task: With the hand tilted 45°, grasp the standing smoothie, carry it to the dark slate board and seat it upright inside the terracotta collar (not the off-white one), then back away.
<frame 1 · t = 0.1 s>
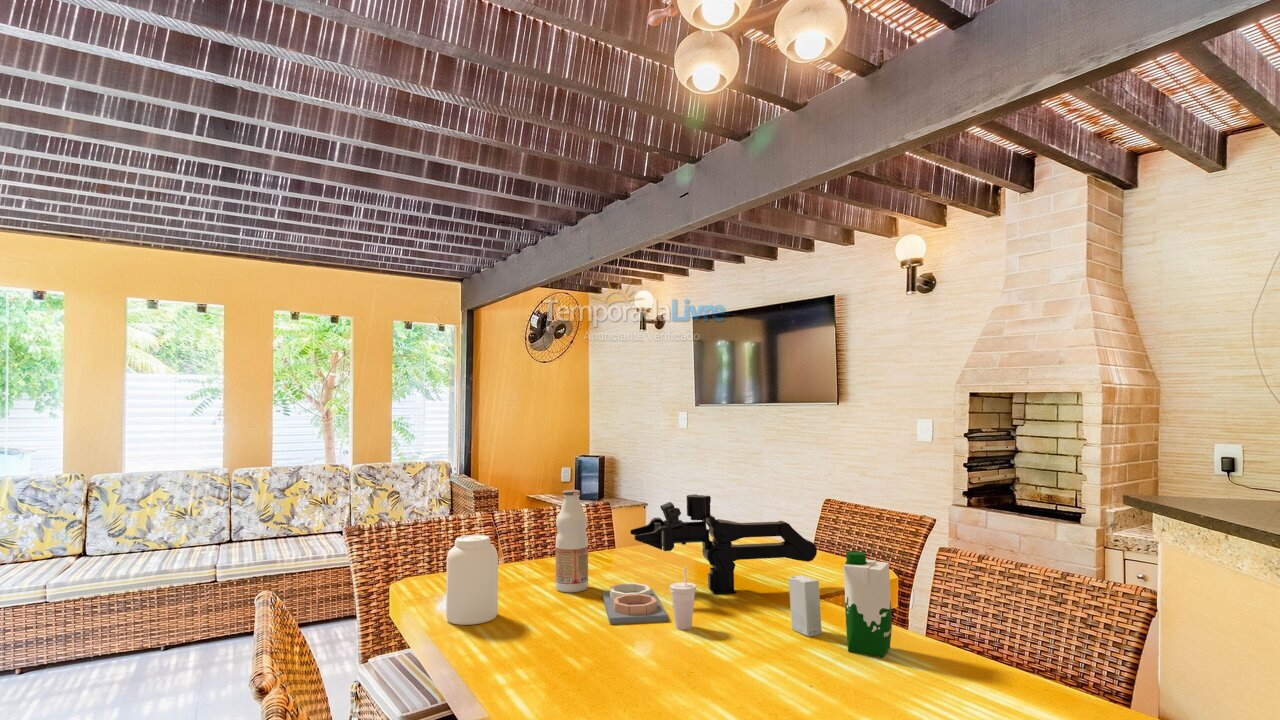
hand: (632, 534, 186), 17 cm above the table, tool horizontal, fingers open, 9 cm apart
skincare box: (805, 633, 153), on the table
board: (632, 608, 173), on the table
fruit juice: (571, 589, 192), on the table
smoothie: (683, 628, 157), on the table
white plastic jar: (472, 618, 166), on the table
milk carton: (869, 650, 141), on the table
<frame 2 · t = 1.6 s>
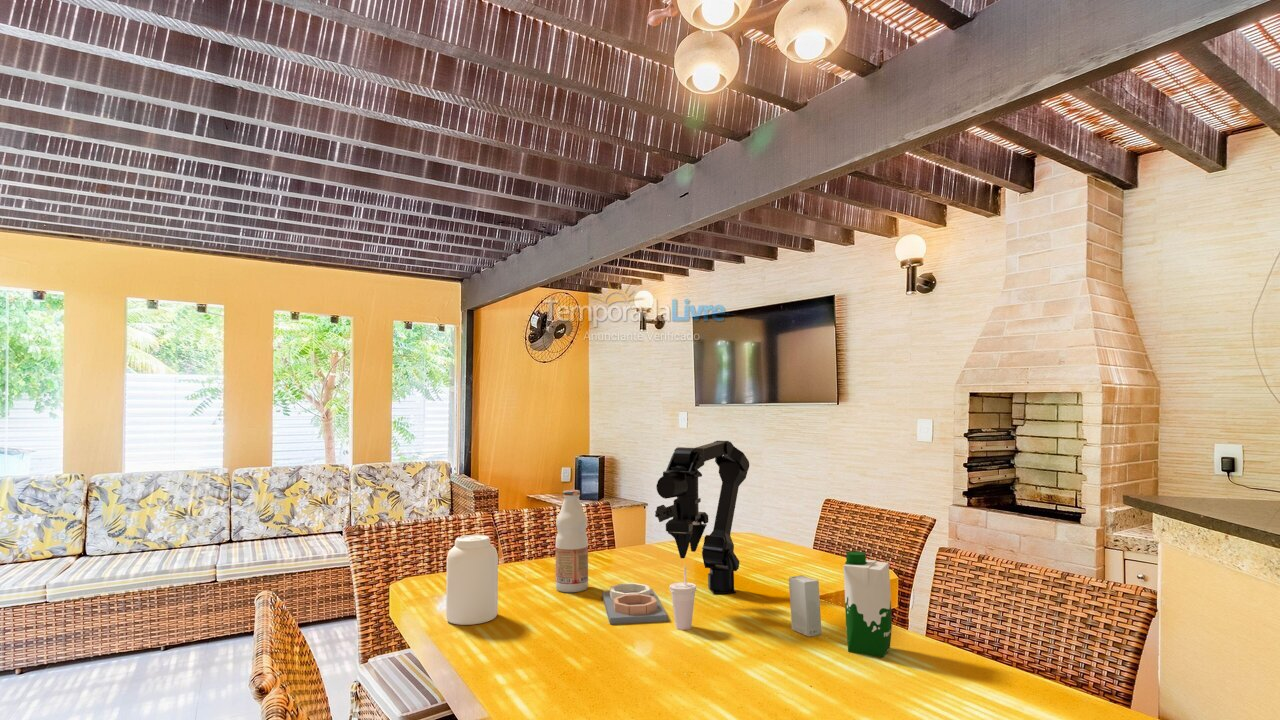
hand: (688, 554, 176), 13 cm above the table, tool pointing down, fingers open, 9 cm apart
nothing on the table moved.
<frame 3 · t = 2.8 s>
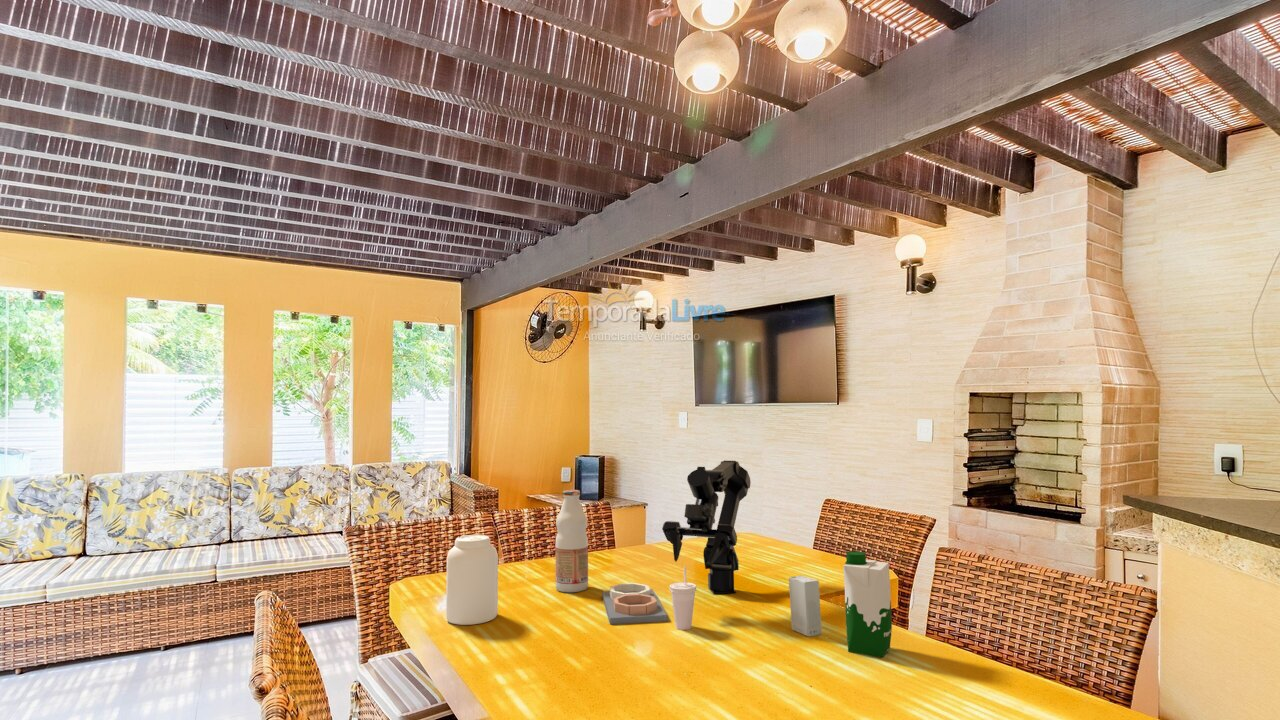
hand: (692, 562, 166), 13 cm above the table, tool tilted 45°, fingers open, 9 cm apart
nothing on the table moved.
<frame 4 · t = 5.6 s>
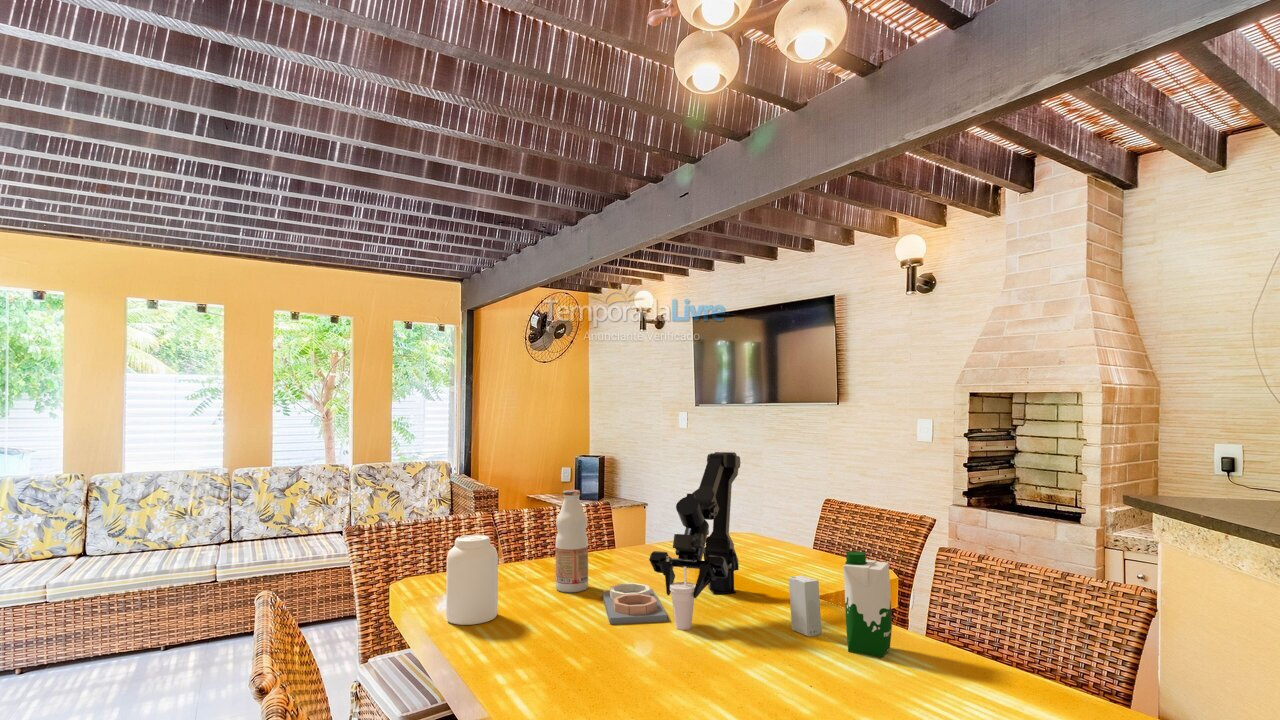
hand: (681, 595, 156), 8 cm above the table, tool tilted 45°, fingers closed on smoothie, 6 cm apart
smoothie: (683, 628, 157), on the table, touching gripper
everything else where it was.
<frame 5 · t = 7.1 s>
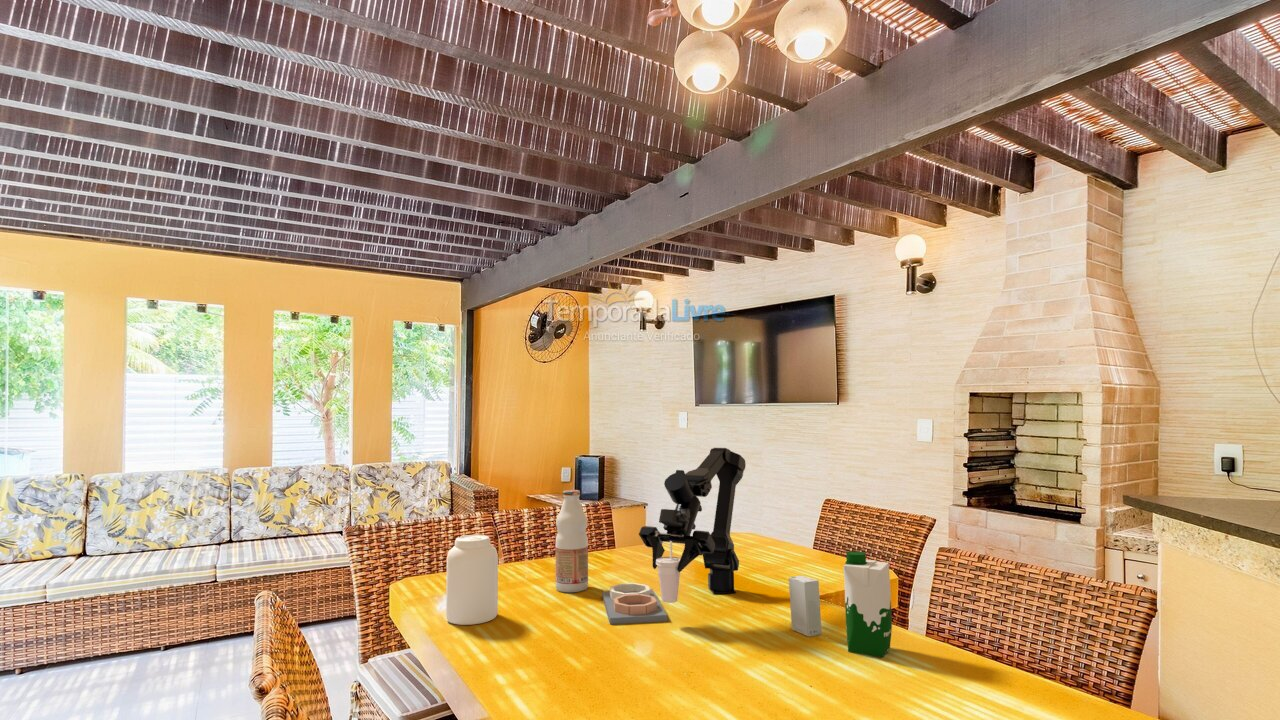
hand: (666, 569, 159), 13 cm above the table, tool tilted 45°, fingers closed on smoothie, 6 cm apart
smoothie: (669, 601, 160), point 5 cm above the table, touching gripper
everything else where it was.
when the fingers open (10 cm above the table, at t = 9.0 s): smoothie stays where it is, resting on board.
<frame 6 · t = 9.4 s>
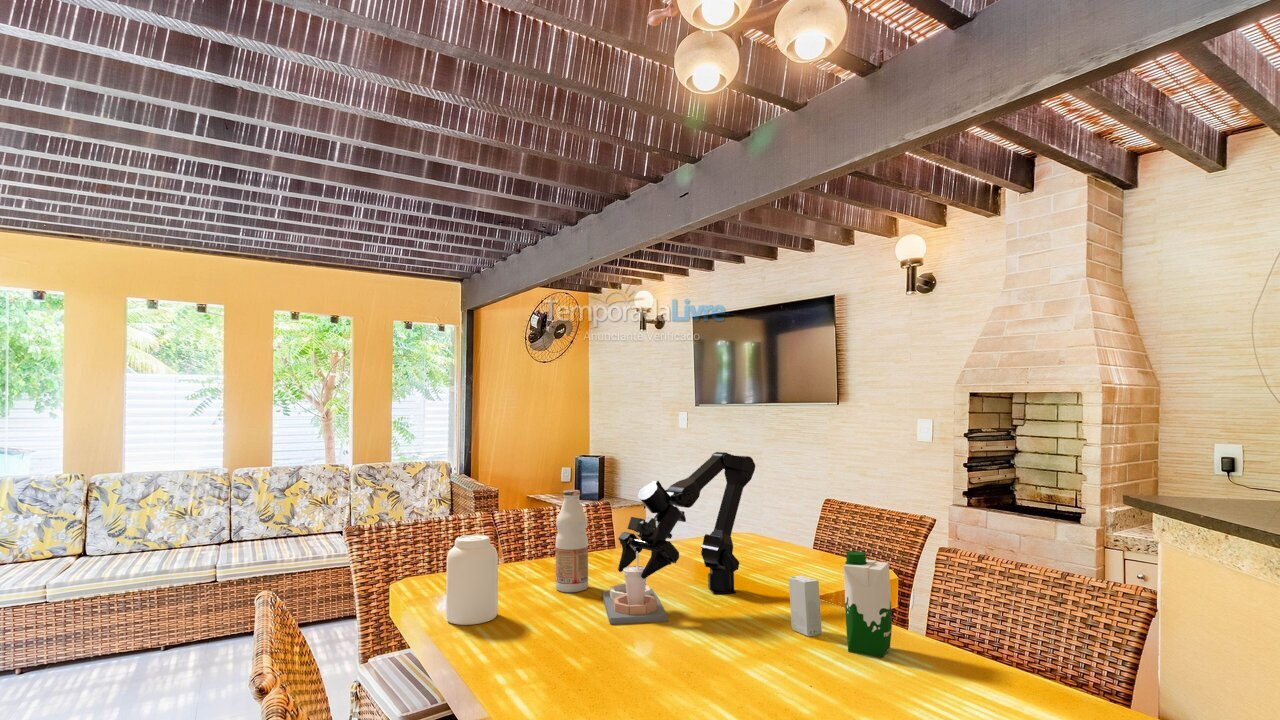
hand: (630, 574, 167), 10 cm above the table, tool tilted 45°, fingers open, 9 cm apart
smoothie: (635, 608, 168), point 1 cm above the table, touching board
everything else where it was.
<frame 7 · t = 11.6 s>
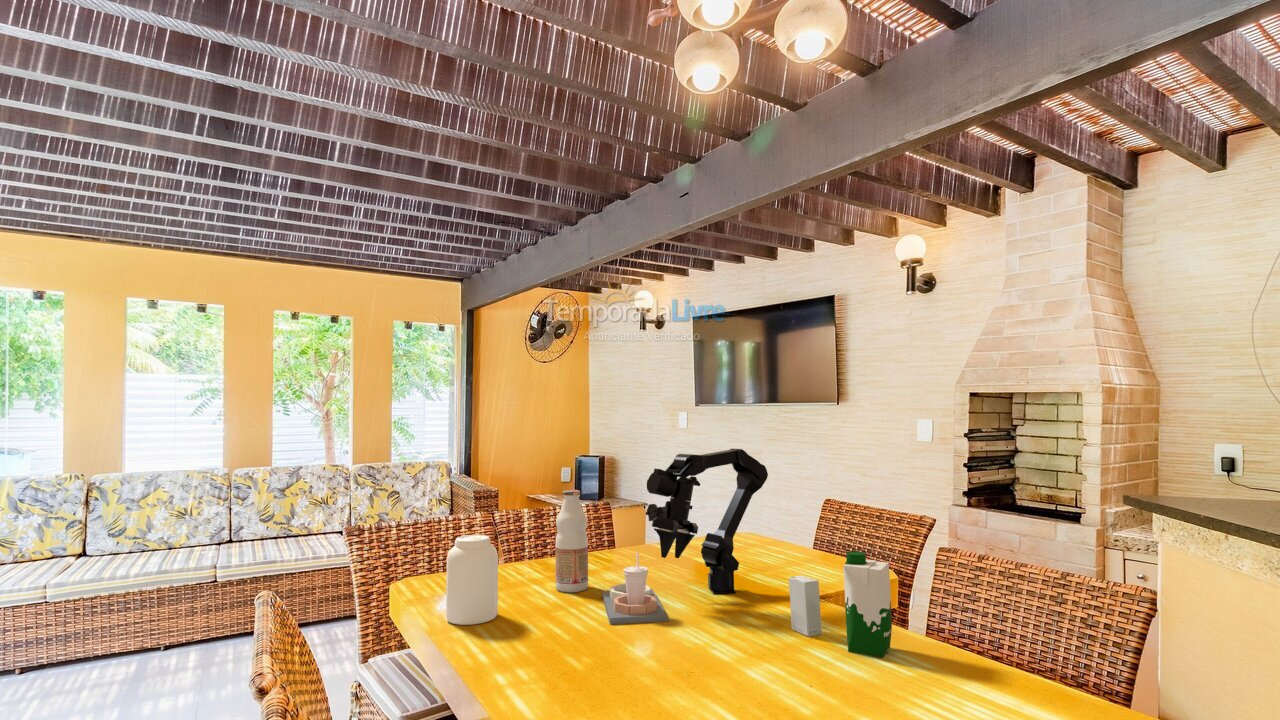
hand: (670, 557, 179), 12 cm above the table, tool pointing down, fingers open, 9 cm apart
nothing on the table moved.
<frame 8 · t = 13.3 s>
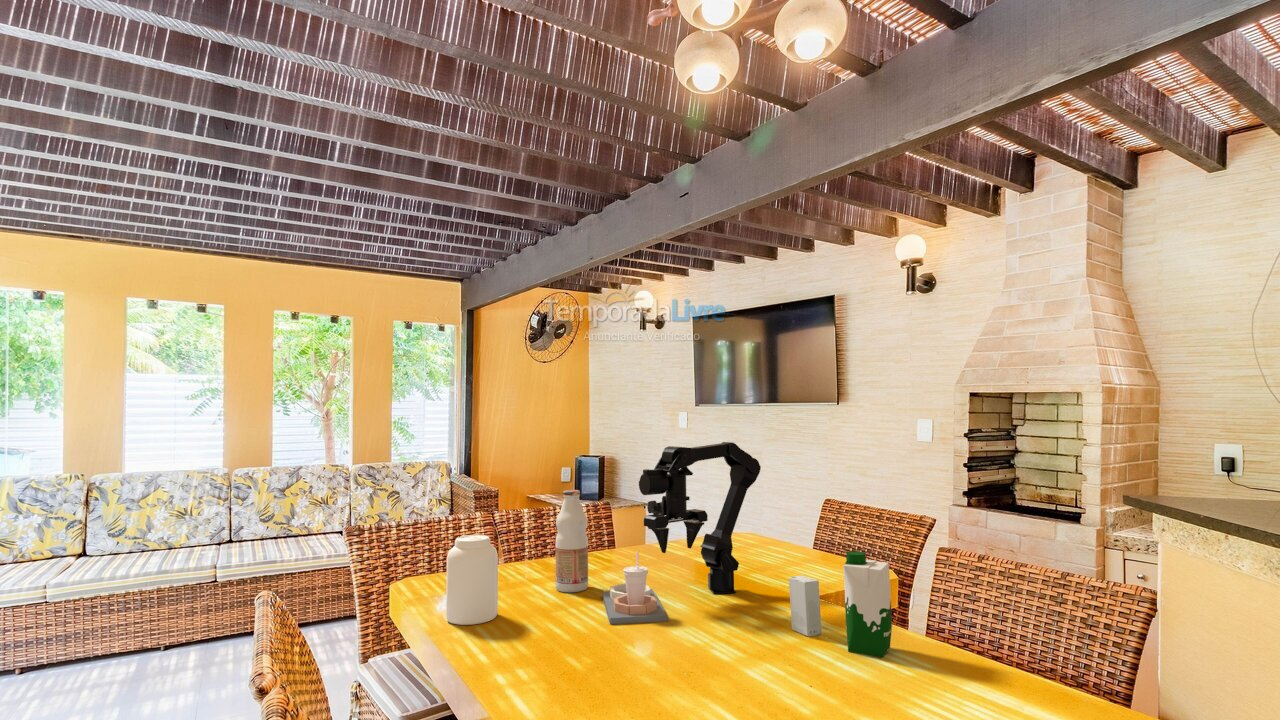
hand: (676, 550, 181), 13 cm above the table, tool pointing down, fingers open, 9 cm apart
nothing on the table moved.
at the end: smoothie 0.2 cm from the target spot, point 1.3 cm above the table; smoothie tilted 0°; the gripper is holding nothing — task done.
